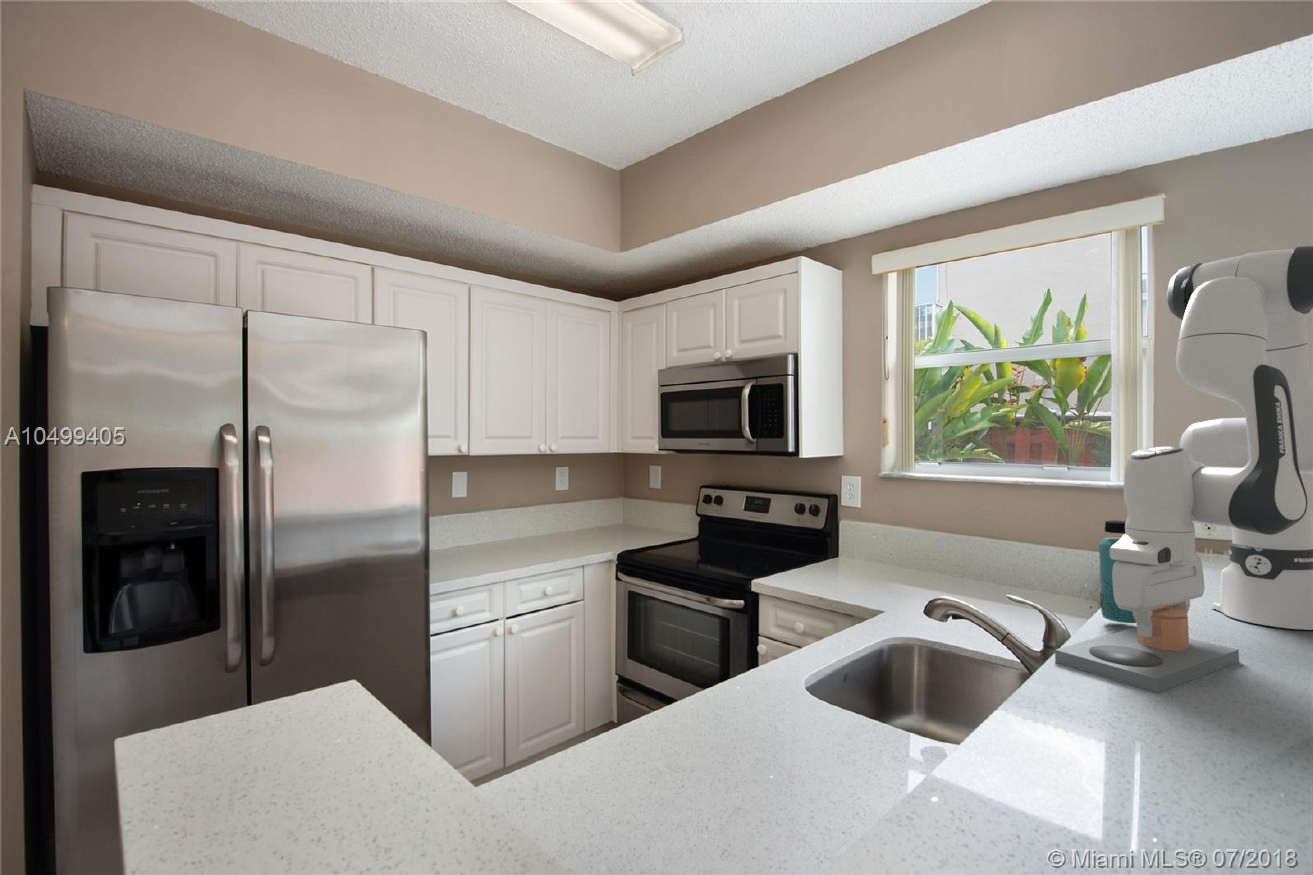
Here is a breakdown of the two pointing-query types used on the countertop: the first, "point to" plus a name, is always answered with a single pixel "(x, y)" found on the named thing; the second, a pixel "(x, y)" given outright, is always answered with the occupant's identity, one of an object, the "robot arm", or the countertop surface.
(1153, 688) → the mount
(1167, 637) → the knob
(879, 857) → the countertop surface
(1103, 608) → the beverage bottle
